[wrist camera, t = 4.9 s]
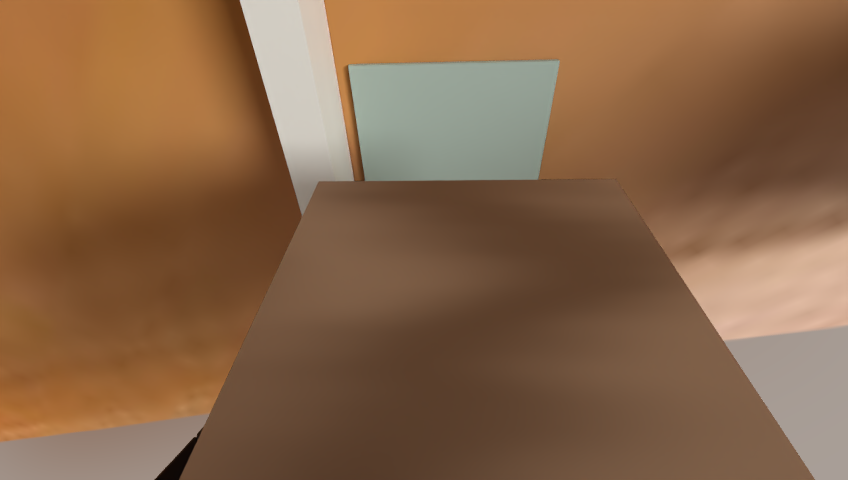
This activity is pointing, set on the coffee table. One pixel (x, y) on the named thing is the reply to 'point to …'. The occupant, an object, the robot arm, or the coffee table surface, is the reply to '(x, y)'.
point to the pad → (453, 119)
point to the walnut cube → (484, 348)
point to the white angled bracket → (301, 89)
